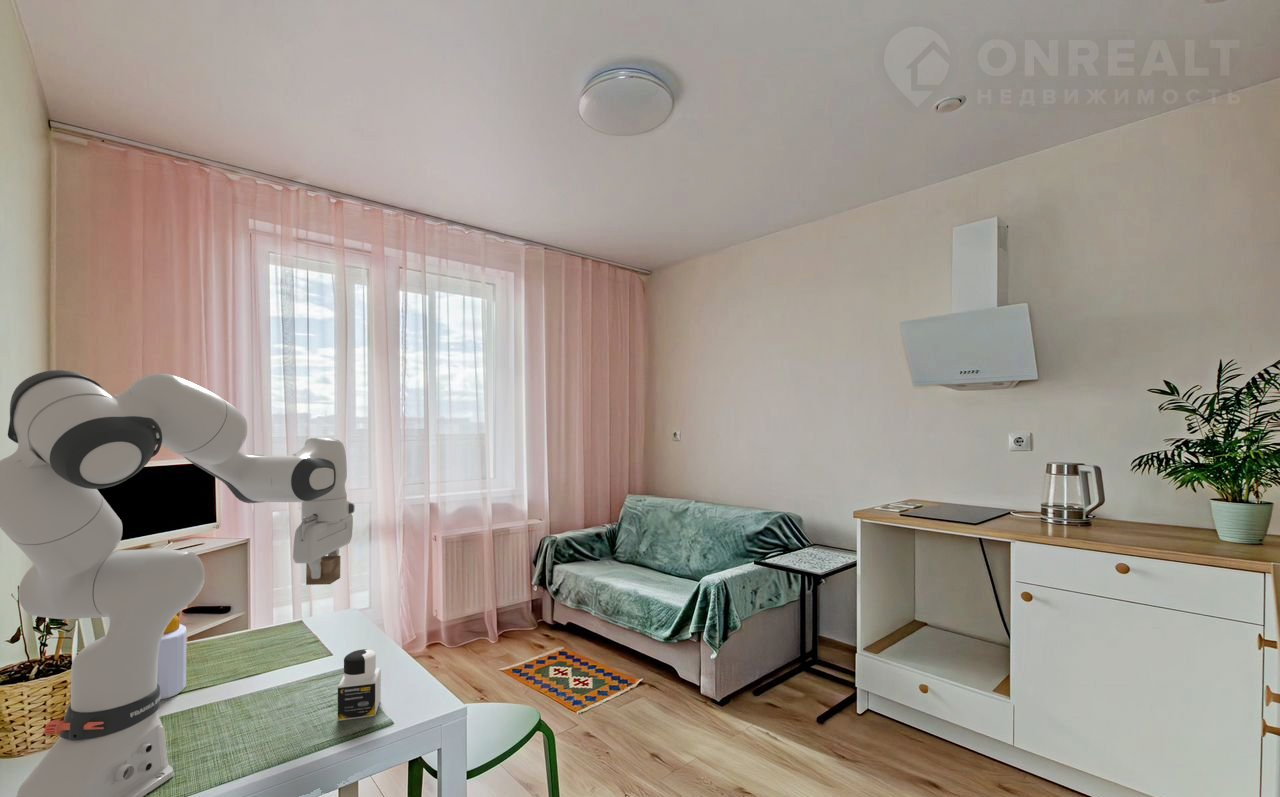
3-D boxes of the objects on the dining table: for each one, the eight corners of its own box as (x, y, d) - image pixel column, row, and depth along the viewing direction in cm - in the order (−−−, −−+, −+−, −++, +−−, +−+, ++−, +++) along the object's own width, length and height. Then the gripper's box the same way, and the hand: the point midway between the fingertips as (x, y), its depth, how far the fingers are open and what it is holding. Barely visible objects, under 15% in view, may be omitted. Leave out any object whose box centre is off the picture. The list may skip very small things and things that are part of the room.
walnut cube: (330, 584, 127) (330, 561, 127) (306, 584, 127) (306, 561, 127) (340, 577, 132) (340, 555, 132) (317, 578, 132) (317, 555, 132)
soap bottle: (191, 692, 132) (192, 601, 132) (143, 705, 126) (144, 610, 126) (180, 674, 141) (181, 589, 141) (135, 686, 135) (136, 597, 135)
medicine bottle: (337, 721, 119) (337, 662, 119) (344, 704, 125) (345, 648, 126) (375, 716, 120) (375, 657, 121) (380, 700, 127) (381, 644, 128)
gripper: (316, 519, 120) (316, 587, 119) (357, 503, 140) (357, 562, 140) (284, 519, 119) (283, 588, 119) (330, 504, 140) (330, 562, 139)
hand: (324, 573), depth 129 cm, fingers closed on walnut cube, 5 cm apart
